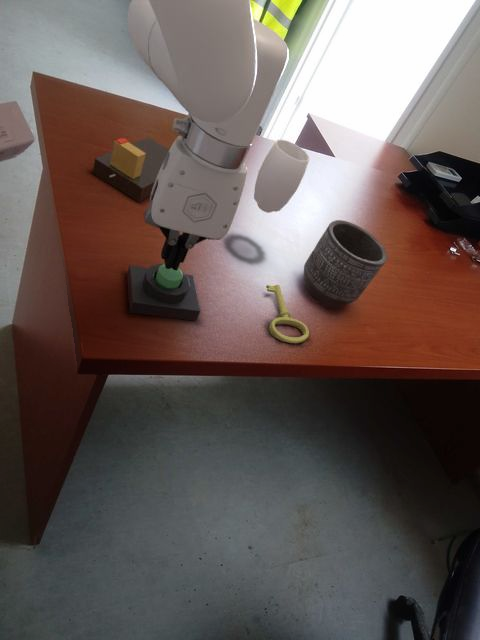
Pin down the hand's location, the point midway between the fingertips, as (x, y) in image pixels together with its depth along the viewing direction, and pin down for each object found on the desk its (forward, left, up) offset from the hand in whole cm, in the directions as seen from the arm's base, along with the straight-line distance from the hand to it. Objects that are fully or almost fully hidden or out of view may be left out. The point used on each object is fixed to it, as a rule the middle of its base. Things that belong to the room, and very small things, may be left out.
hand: (170, 263), depth 65 cm
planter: (+34, +8, -7) cm, 35 cm away
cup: (+19, +17, -7) cm, 26 cm away
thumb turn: (-4, +29, -4) cm, 30 cm away
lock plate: (-1, +34, -7) cm, 35 cm away
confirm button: (+1, 0, -4) cm, 4 cm away
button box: (+1, 0, -7) cm, 7 cm away
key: (+22, -1, -7) cm, 23 cm away
